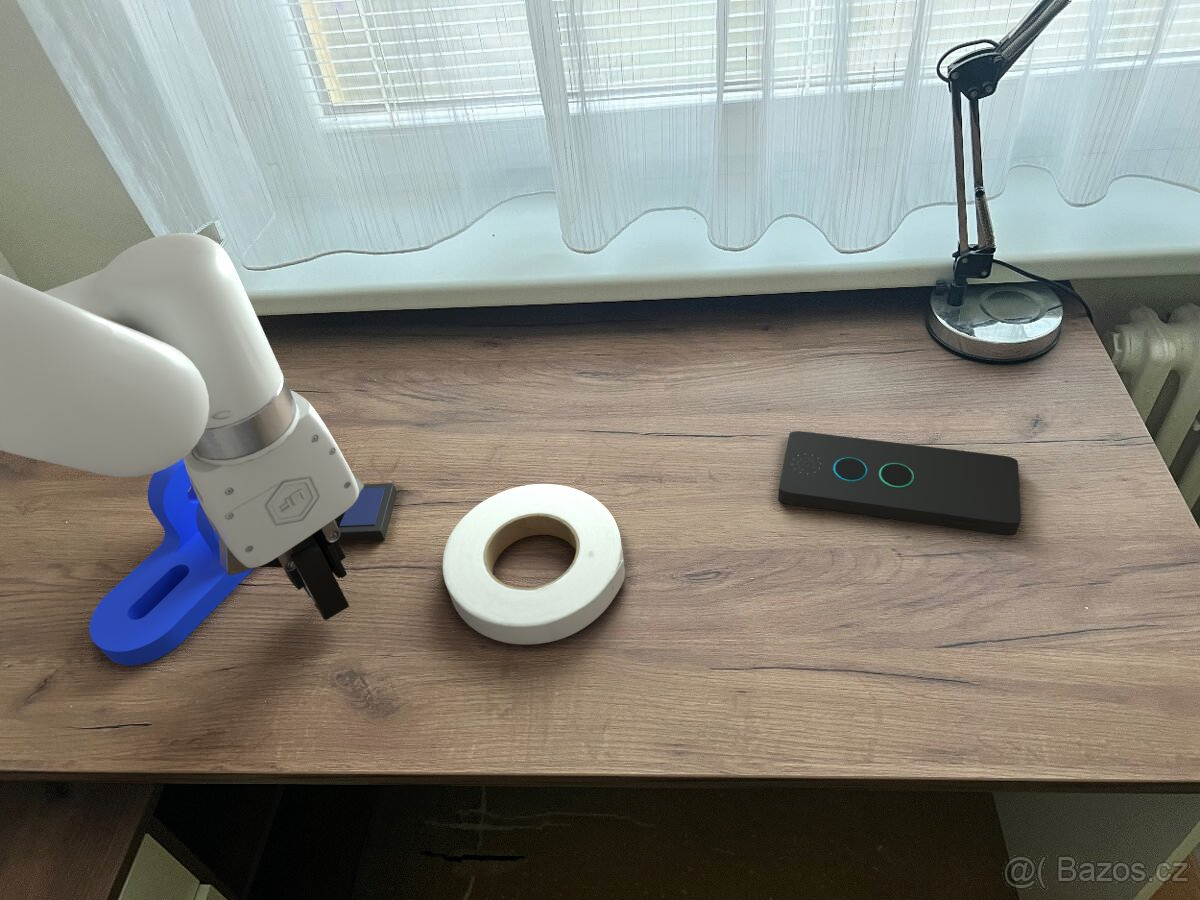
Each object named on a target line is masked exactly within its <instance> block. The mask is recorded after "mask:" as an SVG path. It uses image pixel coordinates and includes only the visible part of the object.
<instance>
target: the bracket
mask: <svg viewBox="0 0 1200 900" xmlns="http://www.w3.org/2000/svg"><path fill="white" fill-rule="evenodd" d="M147 503H148V506H149V508H150V510H151V512H152V514H153V515H154V516H155V518H156V519H157V521H158V522H159V523H160V525H161V527H162V528H163V530H164V537H163V540H162V541H161V543H160V545H158V547H157V548H156V549H154V551H152V552H151V553H150V554H149V555H148V556H147V557H146V558H145V559H143V561H142V562H140V563H139V564H138V565H137V566H136V567H135V568H134V569H133V570H132V571H130V573H129V574H127V576H125V577H124V578H123V579H122V580H121V581H120V582H119V583H118V584H117V585H116V586H114V587H113V588H111V590H110V591H109V592H108V593H107V594H106V595H104V597H103V598H102V599H101V600H100V601H99V603H98V604H97V606H96V607H95V608H94V611H93V612H92V615H91V618H90V622H89V635H90V639H91V640H92V642H93V643H94V644H95V645H96V646H97V648H98V649H100V651H101V652H102V653H103V654H104V655H105V656H106V657H107V659H109V660H110V661H111V662H113V663H115V664H119V665H124V666H139V665H143V664H147V663H151V662H153V661H155V660H159V659H160V658H162V657H164V656H166V655H168V654H169V653H171V652H173V650H175V649H176V648H177V647H179V646H180V645H181V644H182V643H183V642H184V641H185V640H186V639H187V638H188V637H189V636H190V635H191V634H192V633H193V632H194V631H195V630H196V629H197V628H198V627H199V626H200V625H201V624H202V622H204V621H205V619H207V617H209V615H211V613H212V612H214V610H215V609H216V608H217V607H218V606H219V605H220V604H221V603H222V602H223V601H224V600H225V599H226V598H227V597H228V596H229V595H230V594H231V593H232V592H233V591H234V590H235V589H236V588H237V587H238V586H239V585H240V584H241V583H242V582H243V581H244V580H245V579H246V577H247V576H248V575H250V573H252V572H253V571H254V569H255V568H253V569H250V570H247V571H244V572H241V573H238V574H235V575H229V574H228V573H227V572H226V571H225V570H224V569H223V567H222V566H221V564H220V548H219V536H218V535H217V533H216V532H215V530H214V529H213V527H212V525H211V523H210V522H209V520H208V518H207V516H206V514H205V512H204V510H203V508H202V506H201V504H200V502H199V500H198V497H197V495H196V493H195V491H194V488H193V486H192V484H191V481H190V478H189V476H188V473H187V470H186V466H185V463H184V459H183V458H182V459H181V460H180V461H179V462H177V463H175V464H174V465H172V466H170V467H168V468H167V469H164V470H161V471H159V472H156V473H153V474H152V476H151V478H150V480H149V484H148V488H147Z"/></svg>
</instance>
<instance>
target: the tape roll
mask: <svg viewBox="0 0 1200 900" xmlns="http://www.w3.org/2000/svg"><path fill="white" fill-rule="evenodd" d="M531 536H532V537H533V536H553V537H557V538H559V539H561V540H563V541H565V542H567V543H568V544H569V545H571V547H572V548H573V549H574V550H575V555H574V558H573V560H572V562H571V564H570V566H569V567H568V568H567V569H566V570H565V571H564V572H563V573H562V574H561V575H560V576H558V577H557V578H555V579H554V580H553V581H550V582H548V583H545V584H543V585H538V586H533V587H518V586H517V587H516V586H512V585H509V584H506V583H504V582H503V581H501V580H499V579H498V578H497V577H496V576H495V575H494V574H493V573H494V567H495V564H496V562H497V560H498V558H499V556H500V555H501V554H502V553H503V552H504V551H505V549H507V548H508V547H510V546H511V545H512V544H514V543H515V542H517V541H520V540H521V539H525V538H528V537H531ZM621 537H622V536H621V533H620V530H619V527H618V524H617V522H616V520H615V518H614V516H613V515H612V513H611V512H610V510H609V509H608V508H606V506H605V505H604V504H602V503H601V502H600V501H599V500H597V499H596V498H595V497H594V496H592V495H590V494H588V493H586V492H584V491H581V490H579V489H576V488H574V487H570V486H567V485H561V484H552V483H535V484H534V483H533V484H527V485H526V484H525V485H521V486H517V487H512V488H510V489H506V490H504V491H501V492H498V493H496V494H494V495H491V496H490V497H487V498H486V499H485V500H483V501H481V502H480V503H479V504H476V506H474V507H473V508H472V509H470V510H469V511H468V512H467V513H466V514H465V515H464V516H463V517H462V518H461V519H460V521H459V522H457V524H456V526H455V527H454V528H453V529H452V531H451V533H450V534H449V537H448V539H447V541H446V544H445V547H444V549H443V550H444V551H443V556H442V575H443V576H442V577H443V580H444V583H445V587H446V589H447V591H448V595H449V597H450V599H451V602H452V604H453V606H454V608H455V611H456V612H457V613H458V615H459V616H460V617H461V619H462V620H463V621H464V622H465V623H466V624H467V625H468V626H469V627H470V628H472V630H474V631H476V632H477V633H478V634H480V635H482V636H485V637H487V638H489V639H492V640H495V641H497V642H501V643H505V644H511V645H540V644H546V643H551V642H556V641H559V640H563V639H565V638H567V637H570V636H572V635H574V634H576V633H578V632H580V631H581V630H583V629H585V628H586V627H588V626H589V625H590V624H592V623H593V622H594V621H596V620H597V619H598V618H599V617H600V616H601V615H602V614H603V613H604V612H605V611H606V610H607V609H608V608H609V606H610V605H611V603H612V602H613V600H614V599H615V597H616V596H617V594H618V593H619V591H620V589H621V587H622V586H623V583H624V581H625V575H626V574H625V573H626V572H625V571H626V567H625V558H624V552H623V545H622V538H621Z"/></svg>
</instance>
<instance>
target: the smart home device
mask: <svg viewBox="0 0 1200 900" xmlns="http://www.w3.org/2000/svg"><path fill="white" fill-rule="evenodd" d="M1020 491H1021V489H1020V475H1019V461H1018V460H1017V459H1016V458H1014V457H1012V456H1008V455H1007V456H1006V455H1001V454H994V453H985V452H978V451H977V452H976V451H969V450H968V451H967V450H960V449H951V448H944V447H943V448H942V447H935V446H927V445H919V444H911V443H910V444H909V443H901V442H893V441H885V440H879V439H878V440H876V439H868V438H860V437H853V436H852V437H851V436H845V435H835V434H829V433H827V434H826V433H820V432H811V431H802V430H801V431H800V430H796V431H795V430H794V431H789V434H788V438H787V443H786V449H785V454H784V459H783V463H782V469H781V473H780V479H779V484H778V494H777V500H778V501H780V502H781V503H783V504H787V505H793V506H799V507H805V508H806V507H807V508H812V509H814V508H815V509H819V510H820V509H821V510H827V511H835V512H842V513H848V514H856V515H861V516H870V517H876V518H877V517H878V518H884V519H890V520H899V521H905V522H912V523H919V524H925V525H932V526H938V527H946V528H953V529H960V530H961V529H962V530H968V531H973V532H982V533H988V534H993V535H994V534H995V535H1003V536H1012V535H1013V536H1014V535H1016V534H1017V532H1018V530H1019V528H1020V524H1021V521H1022V509H1021V507H1022V506H1021V493H1020Z"/></svg>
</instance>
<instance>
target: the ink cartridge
mask: <svg viewBox="0 0 1200 900" xmlns="http://www.w3.org/2000/svg"><path fill="white" fill-rule="evenodd" d="M292 550H293V552H294V553H293V554H292V555H290V556H291V558H292V560H293V562H294V564H295V566H296V568H297V570H298V572H299V574H300V576H301V577H302V579H303V581H304V583H305V585H306V587H305V586H304V587H303V588H302V589H303V590H304V591H305V592H306V594H307V596H308V598H311V600H312V601H313V603H314V606H315V608H316V611H318V614H319V615H320V617H321V618H322V619H323V621H327V620H329V619H331V618H333V617H334V616H336V615H338V614H339V613H341V612H343V611H344V610H346V609H348V608H350V604H349V603H348V600H347V599H346V596H345V594H344V592H343V590H342V588H341V586H340V584H339V582H338V580H337V579H336V578H337V577H336V575H335V574H334V573H333V572H332V570H331V568H330V566H329V564H328V562H327V560H326V559H325V557H324V555H323V553H322V551H321V549H320V547H319V546H318V544H317V543H316V541H315V540H314V538H313V537H312V535H310V536H309V537H307V538H306V539H304V540H303V541H301V542H300V543H298V544H297V545H295V546H294V547H292Z"/></svg>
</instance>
